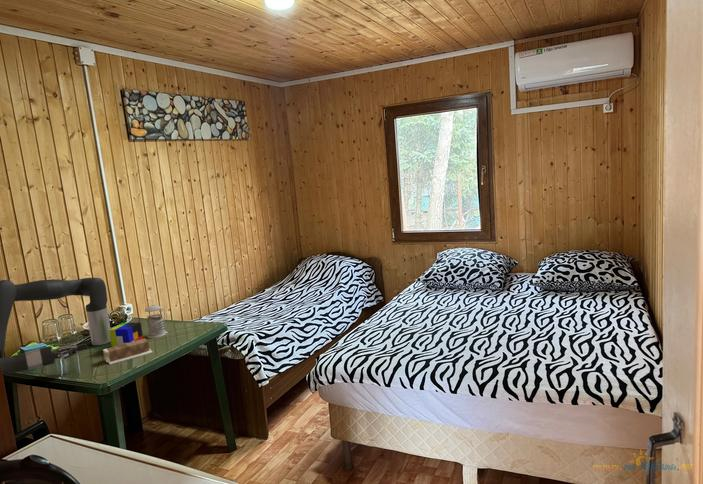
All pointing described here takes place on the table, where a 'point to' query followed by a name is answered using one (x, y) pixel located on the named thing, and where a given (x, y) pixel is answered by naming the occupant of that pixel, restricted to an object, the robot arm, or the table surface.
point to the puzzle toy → (125, 333)
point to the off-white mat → (130, 357)
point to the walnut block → (125, 350)
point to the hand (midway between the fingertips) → (86, 346)
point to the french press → (153, 329)
